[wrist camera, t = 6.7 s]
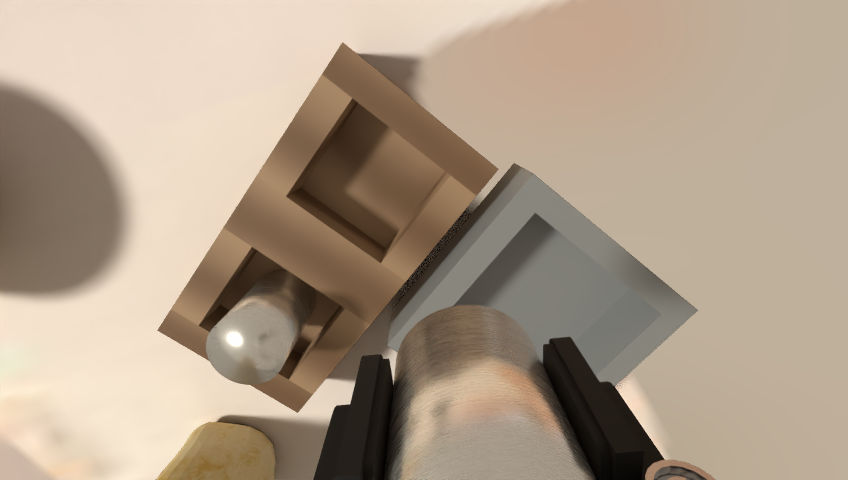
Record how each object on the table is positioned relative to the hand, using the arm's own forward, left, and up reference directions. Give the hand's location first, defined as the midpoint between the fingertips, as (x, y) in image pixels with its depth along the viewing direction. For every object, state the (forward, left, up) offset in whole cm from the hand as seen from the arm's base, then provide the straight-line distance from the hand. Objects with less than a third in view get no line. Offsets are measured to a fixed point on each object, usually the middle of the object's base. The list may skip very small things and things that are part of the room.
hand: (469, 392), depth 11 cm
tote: (-8, +1, -18) cm, 20 cm away
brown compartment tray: (+6, +6, -18) cm, 20 cm away
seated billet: (+6, +11, -17) cm, 21 cm away
